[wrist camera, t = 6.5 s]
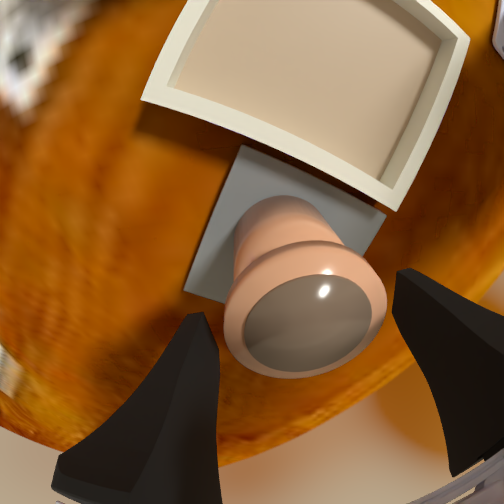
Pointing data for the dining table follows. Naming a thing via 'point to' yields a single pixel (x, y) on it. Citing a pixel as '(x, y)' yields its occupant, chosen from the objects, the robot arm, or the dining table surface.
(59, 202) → the dining table surface
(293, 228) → the pot
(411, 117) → the square beige tray
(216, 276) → the coaster
